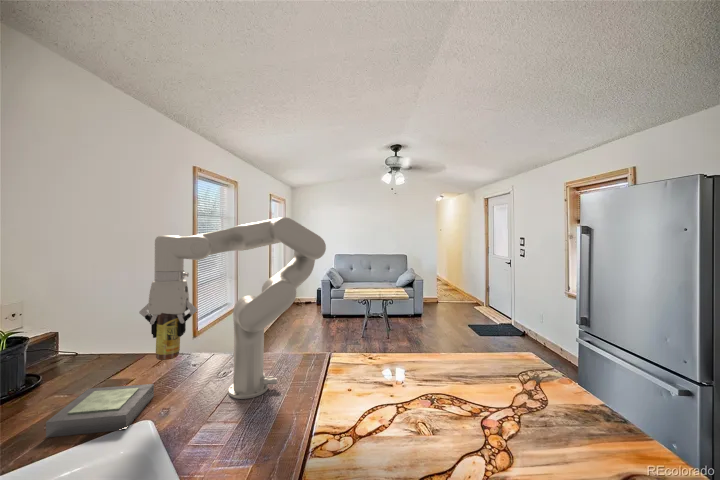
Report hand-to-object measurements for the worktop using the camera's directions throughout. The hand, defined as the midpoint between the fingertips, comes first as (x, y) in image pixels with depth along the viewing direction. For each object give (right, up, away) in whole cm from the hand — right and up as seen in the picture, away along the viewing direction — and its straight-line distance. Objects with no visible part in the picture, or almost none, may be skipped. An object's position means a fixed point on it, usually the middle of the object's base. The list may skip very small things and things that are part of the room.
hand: (168, 335), depth 98 cm
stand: (-15, -21, -5) cm, 27 cm away
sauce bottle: (0, -7, 0) cm, 7 cm away
